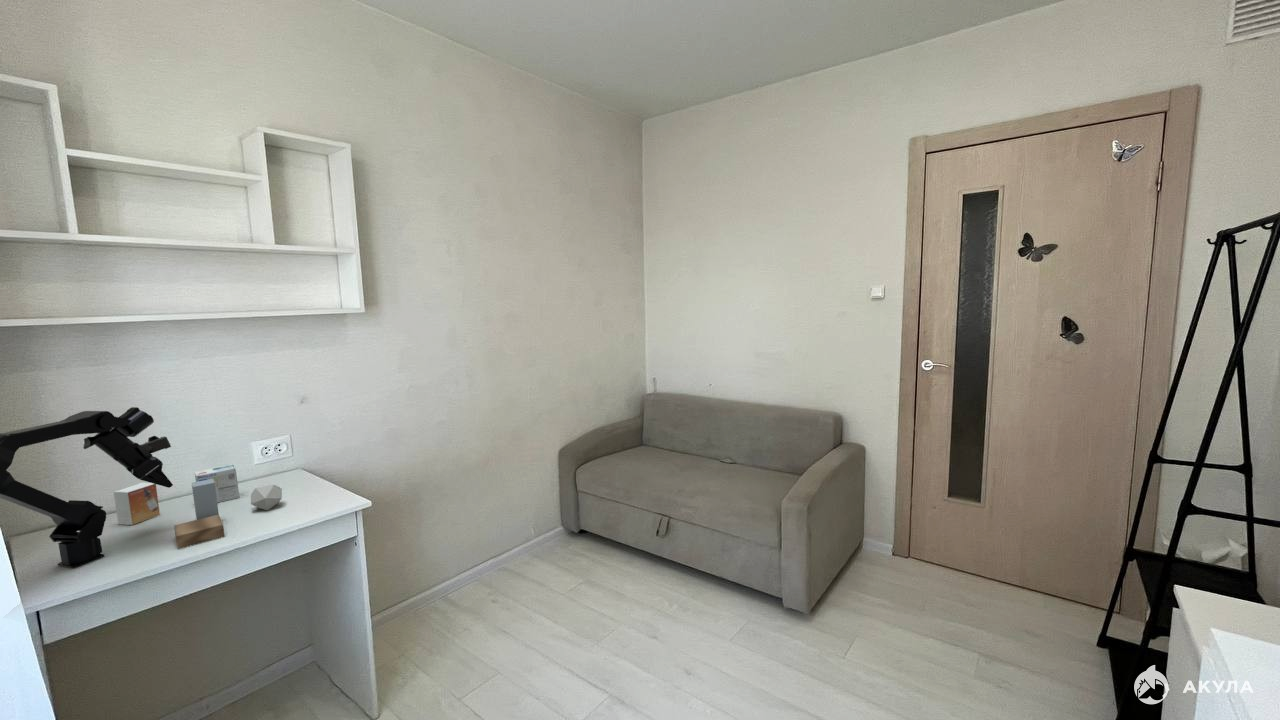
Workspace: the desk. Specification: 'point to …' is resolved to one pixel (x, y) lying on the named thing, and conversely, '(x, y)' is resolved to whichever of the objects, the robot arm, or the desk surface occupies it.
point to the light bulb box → (221, 481)
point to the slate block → (205, 498)
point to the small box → (136, 503)
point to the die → (266, 496)
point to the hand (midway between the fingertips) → (168, 484)
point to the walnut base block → (199, 531)
